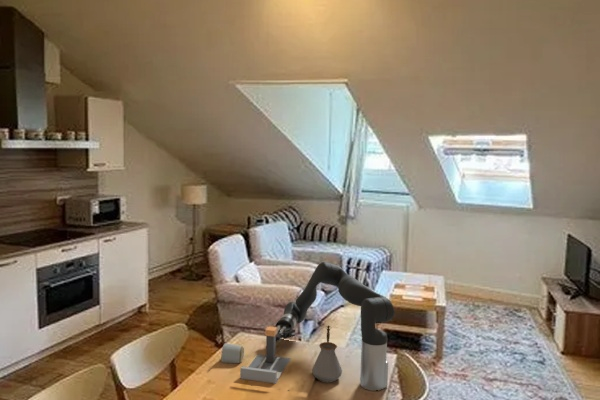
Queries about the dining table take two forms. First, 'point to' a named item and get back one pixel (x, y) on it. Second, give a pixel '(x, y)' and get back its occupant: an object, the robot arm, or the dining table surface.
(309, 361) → the dining table surface
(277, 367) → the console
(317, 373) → the coffee pot
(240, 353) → the ceramic mug
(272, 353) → the fader
